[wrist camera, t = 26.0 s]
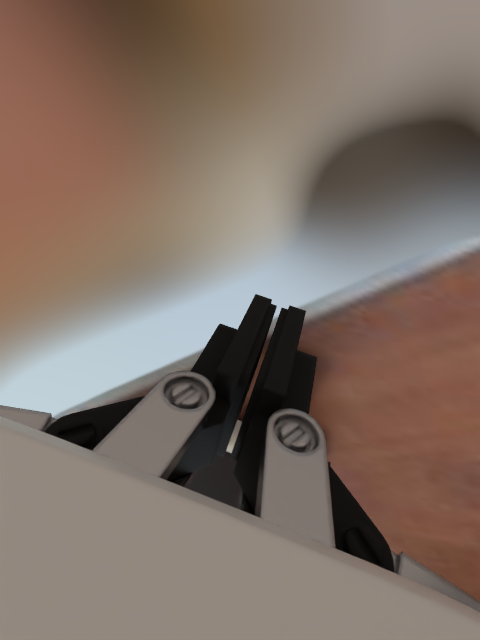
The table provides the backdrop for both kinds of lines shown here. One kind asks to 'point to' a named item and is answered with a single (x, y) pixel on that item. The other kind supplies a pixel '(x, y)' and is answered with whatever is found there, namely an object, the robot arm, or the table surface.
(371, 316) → the table surface
